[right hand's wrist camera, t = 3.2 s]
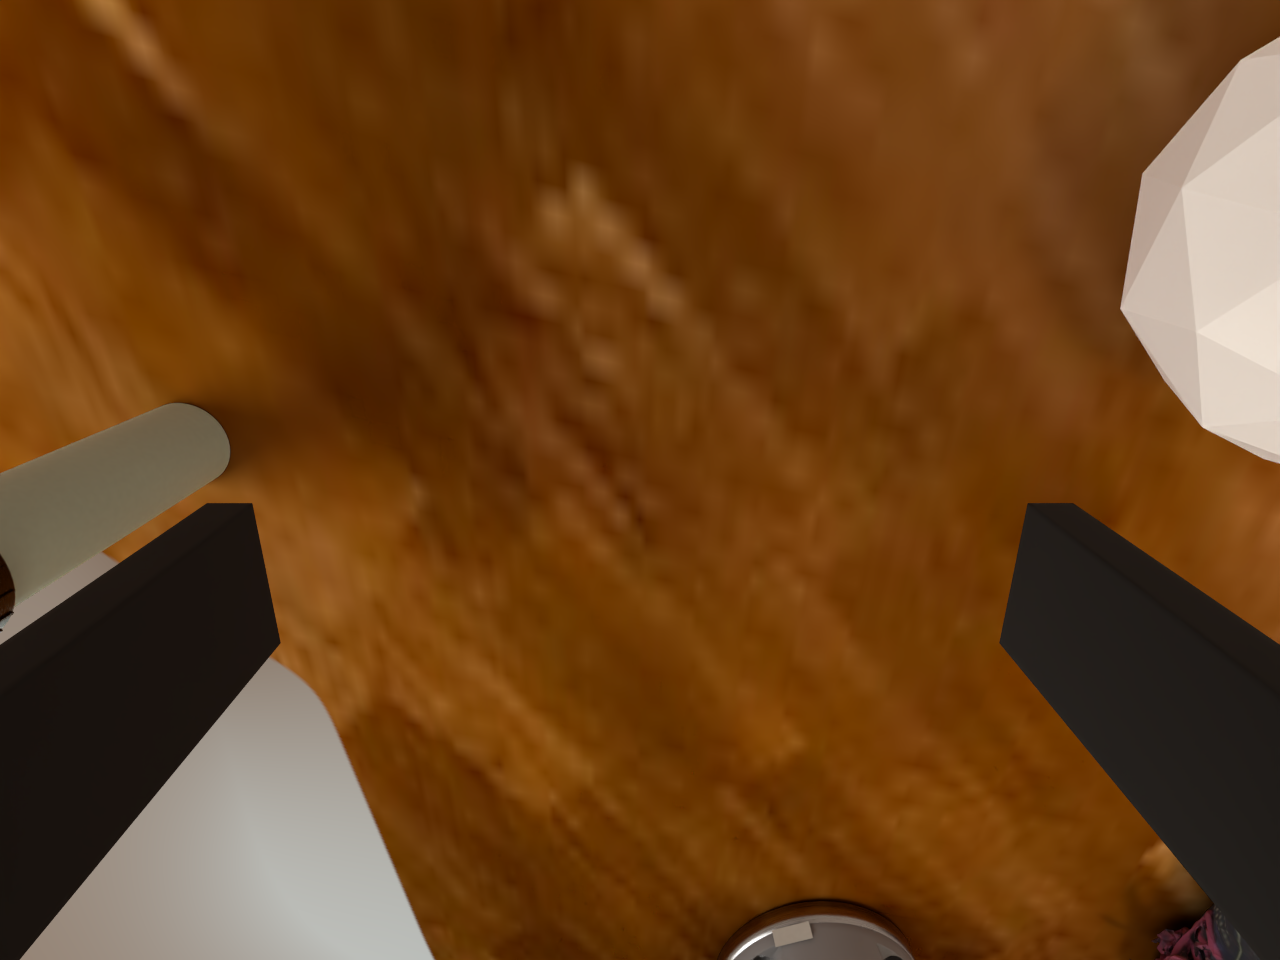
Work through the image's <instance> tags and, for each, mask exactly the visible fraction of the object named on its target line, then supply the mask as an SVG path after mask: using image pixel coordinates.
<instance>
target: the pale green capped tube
mask: <svg viewBox="0 0 1280 960" xmlns="http://www.w3.org/2000/svg"><path fill="white" fill-rule="evenodd" d="M229 458H230V445H229V440H228V438H227V435H226V433H225V431H224V429H223V428H222V426H221V425H220V424H219V423H218V421H217V420H216V419H215V418H214V417H213V416H211V415H210V414H209V413H207V412H206V411H204V410H202V409H200V408H198V407H196V406H193V405H189V404H184V403H171V404H167V405H163V406H161V407H159V408H156V409H154V410H151V411H149V412H147V413H144V414H142V415H139V416H137V417H135V418H132V419H130V420H127V421H125V422H123V423H120V424H118V425H115V426H113V427H111V428H108V429H106V430H103V431H101V432H99V433H96V434H94V435H91V436H89V437H87V438H84V439H82V440H79V441H77V442H75V443H72V444H70V445H67V446H65V447H63V448H60V449H58V450H55V451H53V452H51V453H48V454H46V455H43V456H41V457H39V458H36V459H34V460H31V461H29V462H27V463H24V464H22V465H19V466H17V467H15V468H12V469H10V470H7V471H5V472H3V473H0V554H1V556H2V557H3V559H4V560H5V562H6V564H7V566H8V568H9V570H10V572H11V575H12V578H13V581H14V586H15V591H16V592H15V605H14V607H16V606H17V605H19V604H20V603H22V602H23V601H25V600H27V599H28V598H30V597H31V596H33V595H34V594H36V593H37V592H39V591H40V590H42V589H44V588H45V587H47V586H48V585H50V584H51V583H53V582H55V581H56V580H58V579H59V578H61V577H62V576H64V575H66V574H67V573H69V572H70V571H72V570H73V569H75V568H77V567H78V566H80V565H81V564H83V563H84V562H86V561H87V560H89V559H91V558H92V557H94V556H95V555H97V554H98V553H100V552H102V551H103V550H105V549H106V548H108V547H109V546H111V545H112V544H114V543H116V542H117V541H119V540H120V539H122V538H123V537H125V536H127V535H128V534H130V533H131V532H133V531H134V530H136V529H137V528H139V527H141V526H142V525H144V524H145V523H147V522H148V521H150V520H152V519H153V518H155V517H156V516H158V515H159V514H161V513H162V512H164V511H166V510H167V509H169V508H170V507H172V506H173V505H175V504H176V503H178V502H180V501H181V500H183V499H184V498H186V497H187V496H189V495H191V494H192V493H194V492H195V491H197V490H198V489H200V488H201V487H203V486H205V485H206V484H208V483H209V482H211V481H212V480H214V479H216V478H217V477H219V476H220V475H221V474H222V473H223V472H224V470H225V469H226V467H227V465H228V462H229Z"/></svg>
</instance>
